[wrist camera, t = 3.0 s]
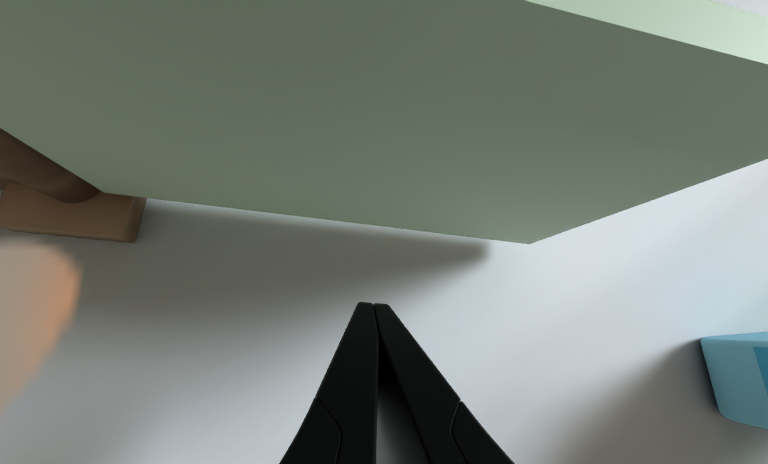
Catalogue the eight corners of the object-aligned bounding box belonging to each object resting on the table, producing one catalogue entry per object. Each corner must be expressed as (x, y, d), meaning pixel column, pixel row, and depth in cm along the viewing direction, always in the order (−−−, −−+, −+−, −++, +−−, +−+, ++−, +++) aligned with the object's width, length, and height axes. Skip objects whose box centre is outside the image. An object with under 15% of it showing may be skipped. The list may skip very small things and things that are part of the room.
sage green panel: (529, 244, 19) (919, 104, 7) (104, 192, 15) (-743, -334, 3) (526, 195, 20) (871, -9, 8) (122, 134, 16) (-485, -465, 4)
